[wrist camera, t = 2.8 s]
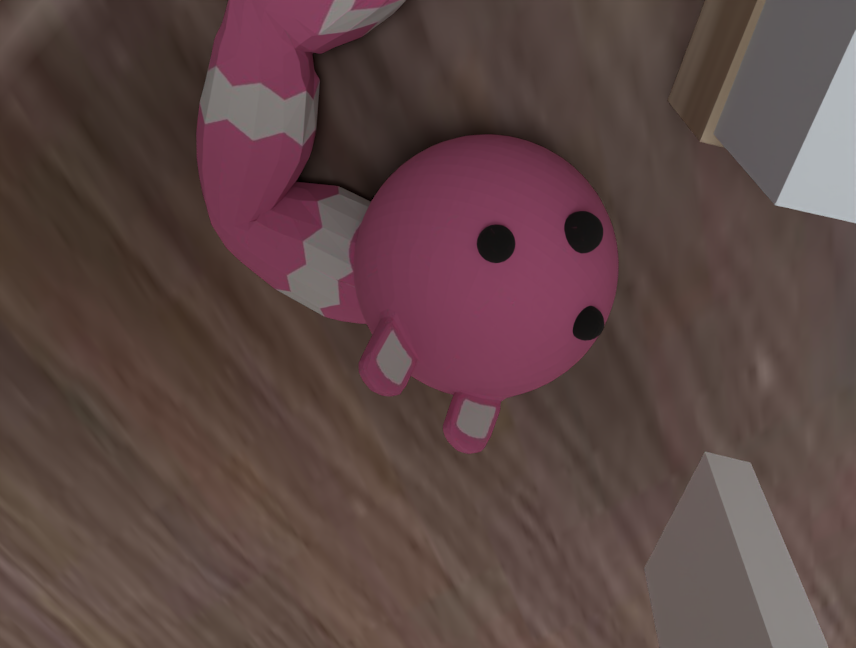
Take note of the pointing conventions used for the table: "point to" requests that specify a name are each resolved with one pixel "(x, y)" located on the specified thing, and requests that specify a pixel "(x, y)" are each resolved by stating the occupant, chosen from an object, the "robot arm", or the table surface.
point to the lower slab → (713, 63)
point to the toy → (403, 225)
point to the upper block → (798, 107)
